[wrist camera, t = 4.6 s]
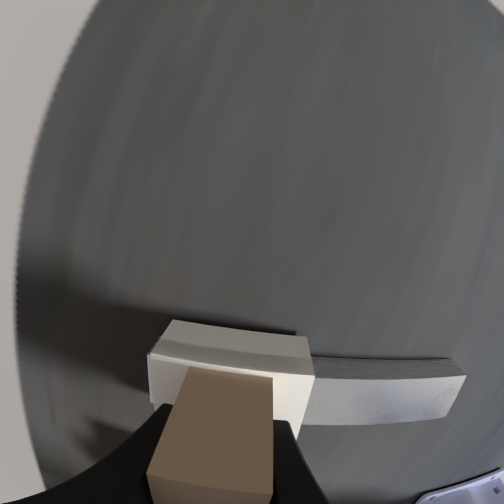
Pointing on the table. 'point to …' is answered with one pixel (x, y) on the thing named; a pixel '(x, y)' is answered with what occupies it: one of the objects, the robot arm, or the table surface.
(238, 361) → the carriage
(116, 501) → the robot arm
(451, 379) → the rail
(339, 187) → the table surface
